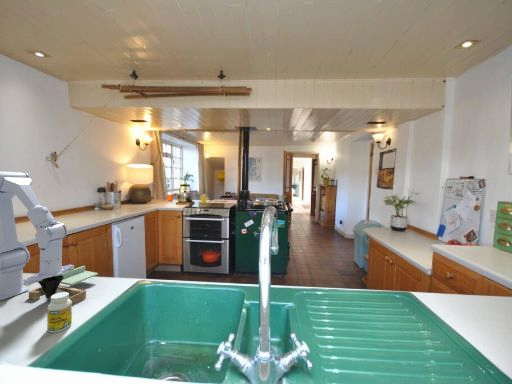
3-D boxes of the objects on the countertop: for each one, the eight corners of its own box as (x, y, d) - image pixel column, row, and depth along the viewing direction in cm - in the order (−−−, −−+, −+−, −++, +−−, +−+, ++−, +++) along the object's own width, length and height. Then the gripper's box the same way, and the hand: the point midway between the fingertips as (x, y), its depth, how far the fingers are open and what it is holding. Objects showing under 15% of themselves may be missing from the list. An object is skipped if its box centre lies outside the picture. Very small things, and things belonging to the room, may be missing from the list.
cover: (68, 286, 85) (68, 279, 85) (50, 282, 87) (50, 276, 87) (98, 274, 97) (98, 268, 97) (82, 271, 99) (82, 265, 99)
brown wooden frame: (28, 298, 82) (28, 290, 82) (54, 288, 90) (54, 280, 90) (65, 307, 77) (65, 298, 77) (89, 296, 85) (89, 288, 85)
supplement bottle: (72, 320, 71) (73, 289, 71) (70, 329, 66) (71, 296, 66) (48, 325, 68) (49, 293, 68) (45, 335, 63) (45, 301, 63)
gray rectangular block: (48, 297, 83) (48, 291, 83) (56, 295, 85) (56, 288, 85) (61, 302, 81) (62, 296, 80) (69, 299, 83) (69, 293, 83)
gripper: (34, 267, 72) (34, 310, 73) (80, 254, 86) (79, 290, 87) (18, 264, 74) (18, 306, 75) (66, 252, 88) (65, 287, 89)
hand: (50, 297), depth 81 cm, fingers closed
